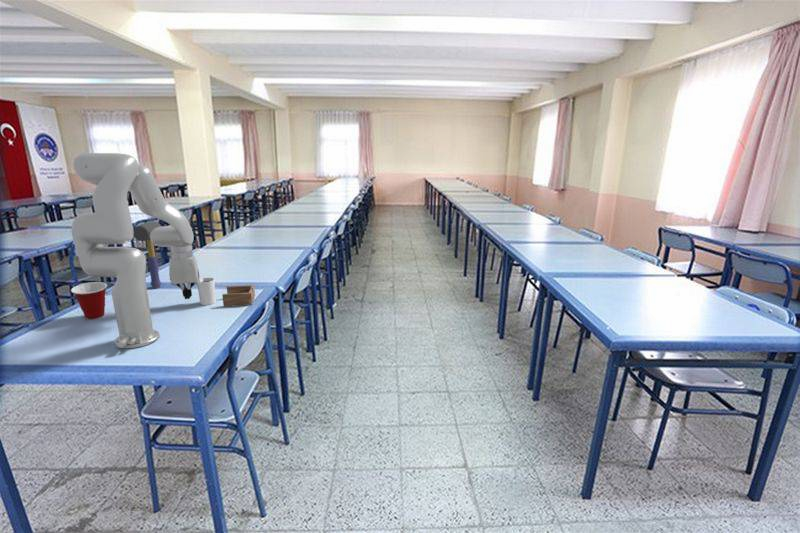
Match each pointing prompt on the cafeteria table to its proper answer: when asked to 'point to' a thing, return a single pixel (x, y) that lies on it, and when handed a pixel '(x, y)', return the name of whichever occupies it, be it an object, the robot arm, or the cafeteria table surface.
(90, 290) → the plastic cup
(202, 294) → the white paper cup
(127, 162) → the robot arm
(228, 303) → the box
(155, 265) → the rubber mallet
